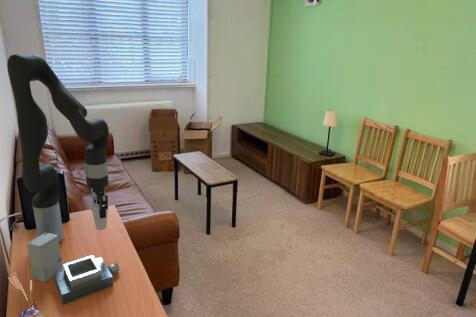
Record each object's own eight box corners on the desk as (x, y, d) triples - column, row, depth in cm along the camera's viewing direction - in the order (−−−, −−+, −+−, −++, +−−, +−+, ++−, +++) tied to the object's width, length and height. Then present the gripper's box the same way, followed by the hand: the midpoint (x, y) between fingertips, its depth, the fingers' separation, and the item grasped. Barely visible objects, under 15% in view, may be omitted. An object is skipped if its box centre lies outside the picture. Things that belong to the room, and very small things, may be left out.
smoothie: (104, 233, 128) (101, 200, 123) (88, 230, 129) (85, 197, 124) (113, 224, 134) (111, 192, 129) (98, 222, 135) (96, 190, 130)
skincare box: (45, 283, 119) (39, 247, 113) (32, 279, 120) (25, 243, 115) (63, 268, 126) (58, 234, 121) (50, 265, 128) (45, 230, 123)
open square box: (55, 281, 119) (52, 265, 117) (112, 262, 131) (111, 246, 129) (63, 304, 110) (60, 287, 107) (124, 281, 122) (123, 265, 119)
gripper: (80, 168, 126) (84, 208, 132) (91, 182, 116) (95, 225, 122) (101, 165, 131) (104, 203, 137) (114, 178, 120) (116, 219, 126)
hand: (100, 213), depth 129 cm, fingers closed on smoothie, 6 cm apart
